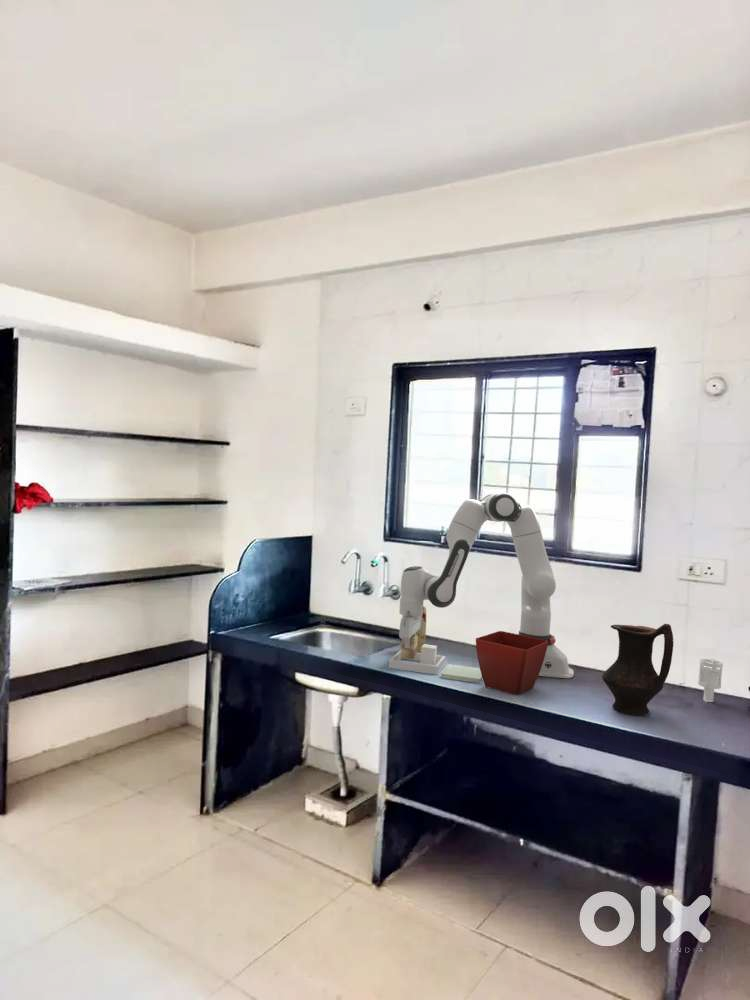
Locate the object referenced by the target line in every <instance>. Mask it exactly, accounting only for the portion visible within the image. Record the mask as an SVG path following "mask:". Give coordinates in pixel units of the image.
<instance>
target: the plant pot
mask: <svg viewBox="0 0 750 1000" xmlns="http://www.w3.org/2000/svg"><path fill="white" fill-rule="evenodd" d="M518 634H519V633H512V632H507V631H505V630H504V631H503V630H497V631H495V632H491V633H488V634H486V635H482V636H479V637H476V638H475V646H476V655H477V660H478V665H479V668H480V671H481V675H482V678H483V679H482V681H483V684H484V686H485V688H488V687H489V688H488V689H492V690H495V691H499V690H500V692H503V693H508V694H511V695H515V696H519V695H521V694H523V693H525V692H528V691H529V690H531V689H533V688H534V687H535V685H536V682H537V679H538V678H539V676H538V675H539V673H540V670H541V667H542V664H543V661H544V658H545V654H546V650H547V646H548V641H546V640H542V639H537V638H533V637H528V636H523V635H518Z"/></svg>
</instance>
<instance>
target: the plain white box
mask: <svg viewBox="0 0 750 1000" xmlns="http://www.w3.org/2000/svg"><path fill="white" fill-rule="evenodd" d="M437 653H438V645H433V644H428V643H425V644H424V645H423V646H422V647H421V660H420V661H419V663H421V664H428V665H436V657H437V655H438V654H437Z"/></svg>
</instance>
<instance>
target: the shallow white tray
mask: <svg viewBox="0 0 750 1000" xmlns="http://www.w3.org/2000/svg"><path fill="white" fill-rule="evenodd" d="M395 653H396V654H394V655H393V656H392V657H391V658H390V659H389V661H388V669H393V670H401V671H408V672H416V673H423V674H428V675H436V676H437V675H438V674H439V673H440V672H441V670H443V667H444V666H445V665H446V657H447V656H445V655H439V654H437V657H436V665H428V664H421V663H420V660H421V653H417V656H416V657H415V658H414V659H407V658H401V649H400V650H399V651H398V652H395ZM404 660H405V661H404ZM406 660H407V661H406ZM411 661H412V662H411ZM414 661H415V662H414Z"/></svg>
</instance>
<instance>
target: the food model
mask: <svg viewBox="0 0 750 1000" xmlns="http://www.w3.org/2000/svg"><path fill="white" fill-rule="evenodd" d="M423 606H424V611H423V615H422V620H421V627H420V629H419V630H418V631H417V632H416V634H415V635H418V640H417V653H421V647H422V646H423V645H424V644H426V643H425V642H426V634H427V607H426V606H425V605H423Z"/></svg>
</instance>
